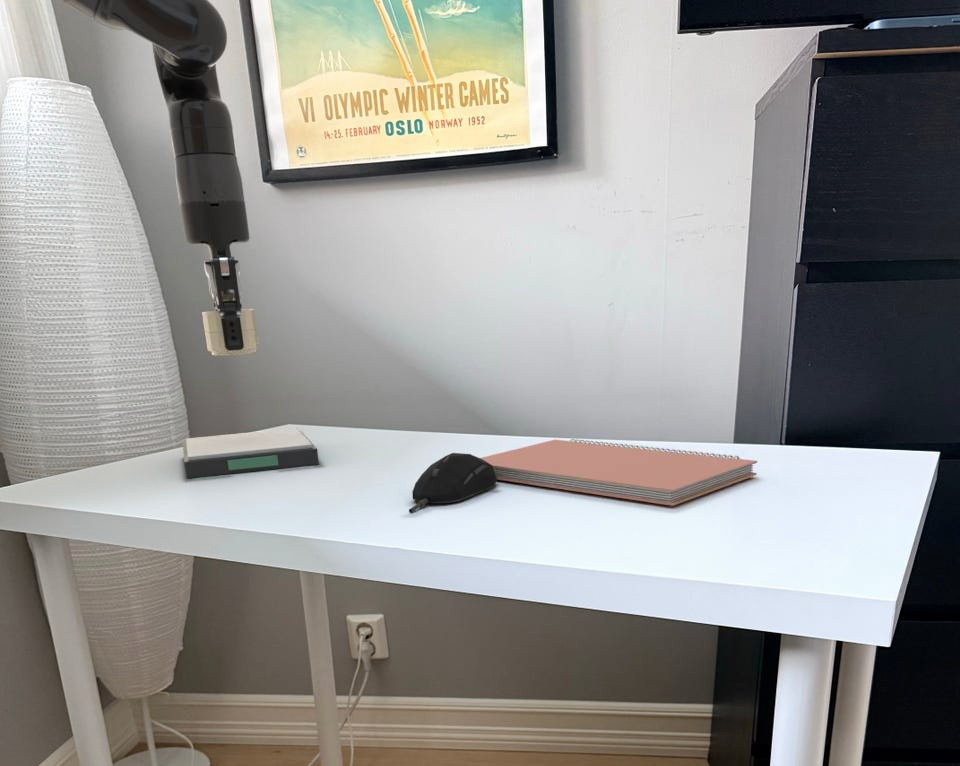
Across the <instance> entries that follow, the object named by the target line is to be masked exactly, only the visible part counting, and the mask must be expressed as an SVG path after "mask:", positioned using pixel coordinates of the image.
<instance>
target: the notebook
mask: <svg viewBox="0 0 960 766" xmlns="http://www.w3.org/2000/svg"><path fill="white" fill-rule="evenodd" d="M480 458H481V459H483V460H484V461H486V462H488V463H489V464H491V465H492V466H493V469H494V471H495V474H496V476H497V481H498V480H499V481H505V482H512V483H517V484H518V483H519V484H525V485H531V486H538V487H545V488H552V489H558V490H565V491H571V492H578V493H585V494H592V495H599V496H605V497H613V498H618V499H619V498H620V499H625V500H631V501H638V502H646V503H652V504H657V505H666V506H677V505H679V504H681V503H684V502H687V501H690V500H693V499H695V498H698V497H701V496H703V495H706V494H708V493H711V492H715V491H716V490H720V489H723V488H726V487H728V486H731V485H733V484H736V483H739V482H742V481H744V480H746V479H750V478H752V477H755V476H757V472H753V471H754V465H755V464H757V463H758V460H754V459H743V458H740V456H739V455H734V456H733V455H731V454H728V455H726V454H725V453H723V454H720V453H713V452H710V453H709V452H708V451H707V452H702V451H699V452H698V451H696V450H694V451H692V450H685V449H682V450H681V449H675V448H664V447H660V448H659V447H653V446H647V445H645V446H643V445H637V444H634V445H633V444H627V443H625V444H623V443H617V442H614V443H613V442H607V441H605V442H604V441H597V440H595V441H594V440H587V439H586V440H584V439H578V438H576V439H575V438H570V439H569V440H565V439H564V440H563V439H552V440H549V441H544V442H540V443H536V444H531V445H528V446H524V447H519V448H515V449H511V450H506V451H503V452H499V453H495V454H491V455H487V456H483V457H480Z"/></svg>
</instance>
